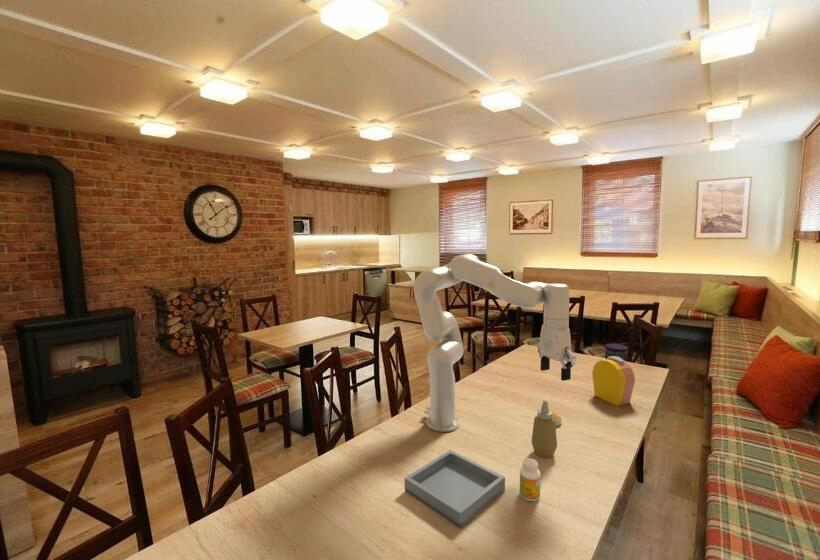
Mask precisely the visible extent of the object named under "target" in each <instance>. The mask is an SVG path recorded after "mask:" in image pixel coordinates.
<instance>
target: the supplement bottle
mask: <svg viewBox="0 0 820 560" xmlns="http://www.w3.org/2000/svg"><path fill="white" fill-rule="evenodd" d="M519 495H520V497H521V498H522V499H523V500H525V501H529V502H537V501H538V500H539V499H540V498H541V471H540V470H539V463H538V461H537V460H536V459H534V458H530V457H529V458H524V459H522V467H521V468H520V470H519Z"/></svg>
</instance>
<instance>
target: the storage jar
mask: <svg viewBox="0 0 820 560" xmlns="http://www.w3.org/2000/svg"><path fill="white" fill-rule="evenodd" d="M604 355H605V359H607V357H611V356H616V357H620V358H621V359H623V360H624V361H626V362H627V359H628V346H627V345H624V344H621V343H613V342H611V343H606V344H605V354H604Z"/></svg>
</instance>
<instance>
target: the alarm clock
mask: <svg viewBox="0 0 820 560" xmlns="http://www.w3.org/2000/svg"><path fill="white" fill-rule="evenodd" d="M634 372H635V371H634V370H633V368H632V367H631V365H629V363H628V362H627V360H626V361H624V360H623V359H621V358H620V357H616V356H611V357H607V359H606V358H605V359H601V360H599V361H597V362H596V363H595V364H594V365H593V367H592V384H593V391H594V392H593V393H594V396H595V397H597V398H599V399H602V400H604V401H606V402H608V403H610V404H612V405H614V406H620V405H626V404H629V403H631V398H632V395H633V390H634V387H635V383H636V376H635V373H634Z"/></svg>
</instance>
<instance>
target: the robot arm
mask: <svg viewBox="0 0 820 560" xmlns="http://www.w3.org/2000/svg"><path fill="white" fill-rule="evenodd" d="M462 282H466V283H469V284H471V285H473V286H476V287H478V288H481V289H483V290H486V291H488V292H489V293H490V294H492V295H493V296H495V297H497V298H498V299H500V300H502V301H504V302H506V303H509V304H511V305H514V306H516V307H519V308H522V309H533V308H534V307H536V306H537V305H538V306H539V305H540V304H543V324H542V325H541V330H540V335H539V341H538V342H536V346H537V352H538V353H539V358H540V371H542V372H543V371H544V372H545V371H549V370H550V366H551V365H550V362H551V361H550V359H551V360H553V361H555V362H560V364H561V366H562V367H561V368H560V381H562V382H565V381H570V380H571V376H572V375H571V372H572V369H573V367H574V366H575V363H576V361H577V359H578V358H577V356H576V354H575V353H574V352H573V351H572V339H571V337H572V336H571V330H570V327H569V325H570V324H569V323H570V293H571V291H570V287H569V285H567V284H565V283H546V282H545V283H544V282H539V281H530V282H527V283H523V282H521V281H518V280H515V279H512V278H510V277H508V276H506V275H505V274H504V273H503V272H502V271H501V270H500V269H499V268H498V267H497V266H494V265H493V264H489V263H486V262H484V261H481V260H480V258H479V257H478V256H476V255H474V254H472V253H467V254H466V253H465V254H459V255H456V256H455V257H453V258H452V259H451V261H450V262H449V263H447V264H444V265H441V266H436V267H431V268H427V269H425V270H423V271H422V272H421V273H420V274H418V275H417V276H416V279H415V280H414V284H413V293H414V294H413V295H414V299H415V301H416V304H417V307H418V312H419V316H420V321H421V324H422V329H423V332H424V335H425V337H426V338H427V339H428V340H430V341H433V342H434V341H439V342H438V343H436V344H434V345H433V346H432V347H431V348H429V350H428V352H427V357H426V360H427V361H426V362H427V367H428V372H429V373H428V374H429V405H430V406H428V405H427V406H426V407H425V409H424V411H423V412H424V414H426V415H427V416H428V417H427V419H426V421H425V423H426V427H427V428H428V429H430V430H432V431H435V432H440V433H446V432H452V431H455V430H456V429H458V428H459V427H460V420H459V418H458V417H456V377H455V372H454V367H453V366H454V365H455V363H457V362H458V361H459V360H460V359H461V358H463V355H464V352H465V351H464V349H465V348H464V344H463V339H462V336H461V332H460V327H459V324H458V321H457V319H456V317H455V316H454V315H453V314H452V313H451V312H449V311H445V310H443V309H442V308H443V307H442V305H441V301H440V299H439V297H438V295H437V293H436V292H437V291H440V290H444V289H446V288H450V287H453V286H454V285H457V284H459V283H462Z"/></svg>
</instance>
